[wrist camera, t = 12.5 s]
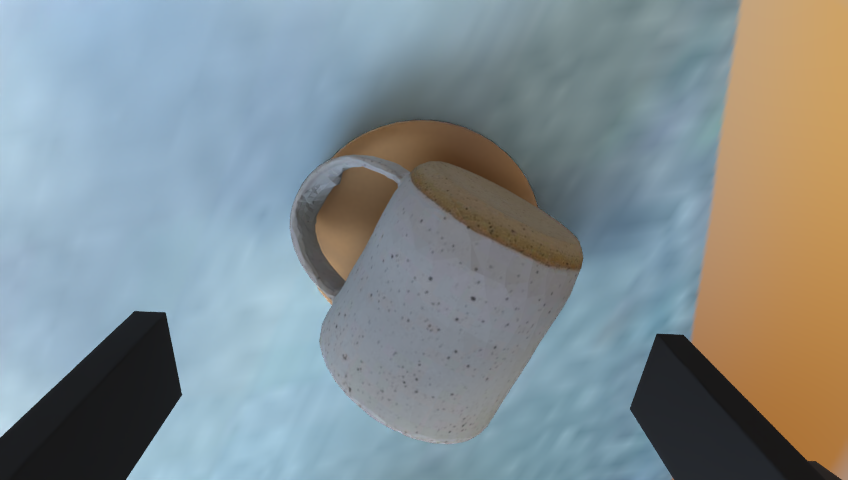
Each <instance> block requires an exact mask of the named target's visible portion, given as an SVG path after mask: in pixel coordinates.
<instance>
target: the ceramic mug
mask: <svg viewBox="0 0 848 480" xmlns="http://www.w3.org/2000/svg"><path fill="white" fill-rule="evenodd" d="M362 166H363V167H365V168H368V169H370V170H373V171H376V172H378V173H381V174H384V175H385V176H386V177H387V178H390V179H392V180H394V181H395V182H396V183H397V184H398V188H397V190H396V191H395V192H394V194H393V196H392V197H391V199H390V201H389V203H388V204H387V206H386V208H385V210H384V212H383V214H382V215H381V217H380V219H379V221H378V223H377V225H376V227H375V229H374V231H373V233H372V235H371V237H370V239H369V241H368V243H367V245H366V247H365V249H364V250H363V252H362V254H361V255H360V257H359V259H358V260H357V262H356V264H355V265H354V267H353V269H352V270H351V272H350V274H349V276H348V278H347V280H346V281H345V280H344V279H343V278H342V277H341V276H340V275H339V274H338V273H337V271H336V270H335V269H334V268H333V267H332V266H331V265H330V263H329V262H328V260H327V259H326V257H325V256H324V254H323V253H322V251H321V248H320V245H319V243H318V240H317V235H316V232H315V224H316V217H317V214H318V212H319V211H320V209H321V207H322V205H323V204H324V202H325V200H326V198H327V196H328V194H329V193H330V192H331V190H332V189H333V188H334V186H336V185H338V184H340V182H341V178H342V174H343V172H344V171H345V170H347V169H349V168H351V167H362ZM290 233H291V238H292V242H293V246H294V249H295V252H296V254H297V256H298V258H299V260H300V262H301V264H302V266H303V268H304V269H305V271H306V272H307V274H308V275H309V277H310V278H311V279H312V281H313V282H314V283H315V284H316V285H317V286H318V287H319V288H320V290H321V291H323V292H324V293H325V294H326V296H327V297H328V298H330V299H331V300H332V306H331V308H330V310H329V312H328V313H327V315H326V317H325V319H324V321H323V323H322V329H321V334H320V341H319V342H320V348H321V352H322V355H323V358H324V361H325V363H326V366H327V368H328V370H329V371H330V373H331V375H332V376H333V378H334V380H335V381H336V382H337V384H338V385H339V386H340V387H341V389H342V390H343V391H344V392H345V393H346V395H347V396H348V397H349V398H350V399H351V400H353V401H354V402H355V403H356V404H357V405H358V406H359V407H360V408H361V409H363V410H364V411H365V412H366V413H367V414H368V415H370V416H371V417H372V418H374V419H375V420H376V421H378V422H380V423H382V424H383V425H385V426H387V427H389V428H390V429H392V430H394V431H398V432H400V433H402V434H403V435H405V436H408V437H411V438H414V439H417V440H421V441H426V442H430V443H441V444H455V443H460V442H465V441H467V440H470V439H472V438H474V437H475V436H477V435H478V434H480V433H481V432H482V431H483V430H484V429H485V428H486V427H487V426H488V424H489V423H490V421H491V419H492V418H493V416H494V415H495V413H496V412H497V410H498V408H499V406H500V405H501V403H502V401H503V400H504V399H505V397H506V395H507V394H508V392H509V391H510V389H511V387H512V386H513V384H514V383H515V381H516V380H517V378H518V377H519V375H520V374H521V372H522V371H523V369H524V368H525V366H526V364H527V363H528V361H529V360H530V358H531V356H532V355H533V353H534V351H535V350H536V348H537V346H538V345H539V343H540V341H541V340H542V338H543V337H544V335H545V334H546V332H547V331H548V329H549V328H550V326H551V325H552V323H553V322H554V320H555V319H556V317H557V316H558V314H559V313H560V311H561V310H562V308H563V307H564V305H565V303H566V301H567V300H568V298H569V296H570V294H571V292H572V289H573V286H574V284H575V281H576V279H577V276H578V274H579V272H580V269H581V267H582V262H583V254H582V249H581V246H580V243H579V241H578V240H577V238H576V237H575V236H574V235H573V234H572V233H571V232H570V231H569V230H568V229H567V228H566V227H565V226H563V225H562V224H561V223H559V222H558V221H557V220H555V219H554V218H552V217H551V216H549V215H548V214H547V213H545V212H543V211H542V210H540V209H539V208H537V207H536V206H534V205H532V204H531V203H529V202H527V201H526V200H524V199H522V198H521V197H519V196H517V195H515V194H514V193H512V192H510V191H508V190H507V189H505V188H503V187H501V186H499V185H497V184H495V183H493V182H491V181H489V180H487V179H485V178H483V177H481V176H479V175H477V174H474V173H472V172H470V171H468V170H465V169H463V168H460V167H458V166H455V165H452V164H449V163H445V162H441V161H429V162H426V163H423V164H420V165H418V166H417V167H415V168H414V169H413V170H412V171H411V172H409V171H408V170H406V169H405V168H403V167H402V166H401V165H399V164H397V163H394V162H391V161H388V160H385V159H381V158H378V157H375V156H366V155H346V156H341V157H337V158H333V159H331V160H329V161H327V162H325V163H323V164H321V165H319V166H318V167H317V168H316V169H315V170H314V171H313V172H312V173H311V174H310V175H309V176H308V177H307V178H306V179H305V181H304V182H303V184H302V186H301V187H300V189H299V191H298V193H297V195H296V198H295V200H294V203H293V206H292V210H291V214H290Z"/></svg>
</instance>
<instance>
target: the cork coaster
mask: <svg viewBox="0 0 848 480" xmlns="http://www.w3.org/2000/svg"><path fill="white" fill-rule="evenodd" d="M346 155H366V156H375V157H378V158H381V159H385V160H388V161H391V162H394V163H397V164H399V165H401V166H402V167H403V168H405V169H406V170H408V171H409V172H411V171H412V170H413V169H414V168H415V167H417V166H418V165H420V164H423V163H426V162H429V161H441V162H445V163H449V164H452V165H455V166H458V167H460V168H463V169H465V170H468V171H470V172H472V173H474V174H477V175H479V176H481V177H483V178H485V179H487V180H489V181H491V182H493V183H495V184H497V185H499V186H501V187H503V188H505V189H507V190H508V191H510V192H512V193H514V194H515V195H517V196H519V197H521V198H522V199H524V200H526V201H527V202H529V203H531V204H532V205H534V206H536V207H537V208H538V206H537V203H536V200H535V196H534V193H533V191H532V189H531V187H530V185H529V183H528V180H527V179H526V177H525V176H524V174H523V173H522V171H521V170H520V168H519V167H518V165H517V164H516V163H515V162H514V161H513V160H512V159H511V158H510V157H509V155H508V154H507V153H506V152H504V151H503V150H502V149H501V148H500V147H498V146H497V145H496V144H495V143H494V142H492V141H490V140H489V139H487V138H485V137H484V136H482V135H481V134H479V133H476V132H474V131H472V130H470V129H467V128H465V127H462V126H459V125H455V124H452V123H448V122H441V121H434V120H409V121H401V122H395V123H392V124H388V125H384V126H380V127H378V128H376V129H373V130H371V131H368V132H366V133H364V134H362V135H361V136H359V137H357V138H356V139H354V140H352V141H351V142H349V143H348V144H347V145H345V146H344V147H343V148H342V149H340V150H339V151H338V152H337V153H336V154H335V155H334V156H333V157H332V158H331V159H333V158H337V157H341V156H346ZM331 159H330V160H331ZM397 188H398V184H397V183H396V182H395V181H394V180H392V179H390V178H387V177H386V176H385V175H384V174H381V173H378V172H376V171H373V170H370V169H368V168H365V167H363V166H362V167H351V168H349V169H347V170H345V171H344V172H343V174H342V178H341V182H340V184H338V185H336V186H334V188H333V189H332V190H331V192H330V193H329V194H328V196H327V198H326V200H325V202H324V204H323V205H322V207H321V209H320V211H319V212H318V214H317V217H316V224H315V232H316V235H317V240H318V243H319V245H320V248H321V251H322V253H323V254H324V256H325V257H326V259H327V260H328V262H329V263H330V265H331V266H332V267H333V268H334V269H335V270H336V271H337V273H338V274H339V275H340V276H341V277H342V278H343V279H344V280H345V281H346V280H347V278H348V276H349V274H350V272H351V270H352V269H353V267H354V265H355V264H356V262H357V260H358V259H359V257H360V255H361V254H362V252H363V250H364V249H365V247H366V245H367V243H368V241H369V239H370V237H371V235H372V233H373V231H374V229H375V227H376V225H377V223H378V221H379V219H380V217H381V215H382V214H383V212H384V210H385V208H386V206H387V204H388V203H389V201H390V199H391V197H392V196H393V194H394V192H395V191H396V190H397ZM317 287H318V286H317ZM318 289H319V290H320V288H319V287H318ZM320 292H321V293H322V294H323V296H324V297H325V298H326V299H327V301H328V302H329V303H330V304H331V305H332V300H331V299H330V298H328V297H327V296H326V294H325V293H324V292H323V291H321V290H320Z"/></svg>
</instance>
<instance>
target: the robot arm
mask: <svg viewBox="0 0 848 480" xmlns="http://www.w3.org/2000/svg"><path fill="white" fill-rule="evenodd" d="M181 396H182V393H181V388H180V383H179V378H178V373H177V368H176V362H175V357H174V352H173V347H172V342H171V337H170V332H169V327H168V322H167V317H166V313H165V312H141V311H134V312H133V313H132V314H131V315H130V316H129V317H128V318H127V319H126V320H125V321H124V322H123V323H122V324H120V325H119V326H118V327H117V328H116V329H115V330H114V331H113V332H112V333H111V334H110V335H109V336H108V337H107V338H106V339H105V340H103V341H102V342H101V343H100V344H99V345H98V346H97V347H96V348H95V349H94V350H93V351H92V352H91V353H90V354H89V355H88V356H86V357H85V358H84V359H83V360H82V361H81V362H80V363H79V364H78V365H77V366H76V367H75V368H74V369H73V370H72V371H71V372H70V373H68V374H67V375H66V376H65V377H64V378H63V379H62V380H61V381H60V382H59V383H58V384H57V385H56V386H55V387H54V388H53V389H51V390H50V391H49V392H48V393H47V394H46V395H45V396H44V397H43V398H42V399H41V400H40V401H39V402H38V403H37V404H36V405H34V406H33V407H32V408H31V409H30V410H29V411H28V412H27V413H26V414H25V415H24V416H23V417H22V418H21V419H20V420H19V421H17V422H16V423H15V424H14V425H13V426H12V427H11V428H10V429H9V430H8V431H7V432H6V433H5V434H4V435H3V436H2V437H0V480H126V479H127V477H128V476H129V474H130V473H131V471H132V470H133V468H134V467H135V465H136V464H137V462H138V461H139V459H140V458H141V456H142V455H143V453H144V451H145V450H146V448H147V447H148V445H149V444H150V442H151V441H152V439H153V438H154V436H155V435H156V433H157V432H158V430H159V429H160V427H161V426H162V424H163V423H164V421H165V420H166V418H167V417H168V415H169V414H170V412H171V411H172V409H173V408H174V406H175V405H176V403H177V402H178V400H179V399H180V397H181ZM630 410H631V412H632V413H633V415H634V416H635V418H636V420H637V421H638V423H639V424H640V426H641V428H642V429H643V431H644V432H645V434H646V436H647V437H648V439H649V440H650V442H651V443H652V445H653V447H654V448H655V450H656V451H657V453H658V455H659V456H660V458H661V459H662V461H663V463H664V464H665V466H666V467H667V469H668V471H669V472H670V474H671V475H672V477H673V479H674V480H841V479H840V478H839V477H837V476H836V475H834V474H833V473H831V472H830V471H829V470H827V469H826V468H824V467H823V466H822V465H820V464H819V463H817V462H816V461H807V460H806V459H805V458H804V457H803V456H802V455H801V454H800V453H799V452H798V451H797V450H796V449H795V448H794V447H793V446H792V445H791V444H790V443H789V442H788V441H787V440H786V439H785V438H784V437H783V436H782V435H781V434H780V433H779V432H778V431H777V430H776V429H775V428H774V427H773V426H772V425H771V424H770V422H769V421H768V420H767V419H766V418H765V417H764V416H763V415H762V414H761V413H760V412H759V411H757V409H756V408H755V407H754V406H753V405H752V404H751V403H750V402H749V401H748V400H747V399H746V398H745V397H744V396H743V395H742V394H741V393H740V392H739V391H738V390H737V389H736V388H735V387H734V386H733V385H732V384H731V383H730V382H729V381H728V380H727V379H726V378H725V377H724V376H723V375H722V374H721V373H720V372H719V371H718V370H717V369H716V368H715V367H714V366H713V365H712V364H711V363H710V362H709V361H708V359H706V358H705V356H704V355H703V354H701V352H700V351H699V350H698V349H697V348H696V347H695V346H694V345H693V344H692V343H691V342H690V341H689V340H688V339H687V338H686V337H685V336H684V335H674V334H657V335H656V337H655V340H654V343H653V346H652V349H651V351H650V354H649V357H648V360H647V362H646V365H645V368H644V371H643V374H642V376H641V379H640V382H639V385H638V388H637V390H636V393H635V396H634V399H633V401H632V404H631V407H630Z"/></svg>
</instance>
